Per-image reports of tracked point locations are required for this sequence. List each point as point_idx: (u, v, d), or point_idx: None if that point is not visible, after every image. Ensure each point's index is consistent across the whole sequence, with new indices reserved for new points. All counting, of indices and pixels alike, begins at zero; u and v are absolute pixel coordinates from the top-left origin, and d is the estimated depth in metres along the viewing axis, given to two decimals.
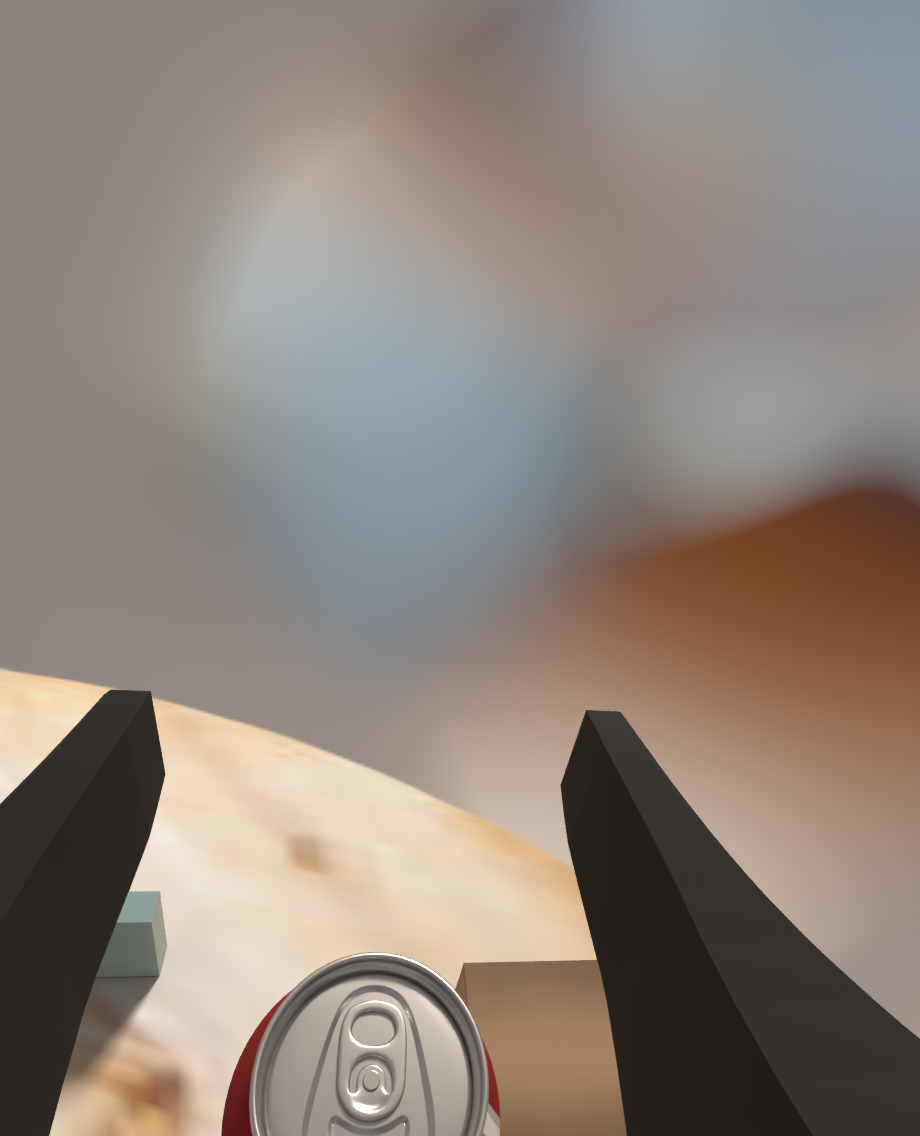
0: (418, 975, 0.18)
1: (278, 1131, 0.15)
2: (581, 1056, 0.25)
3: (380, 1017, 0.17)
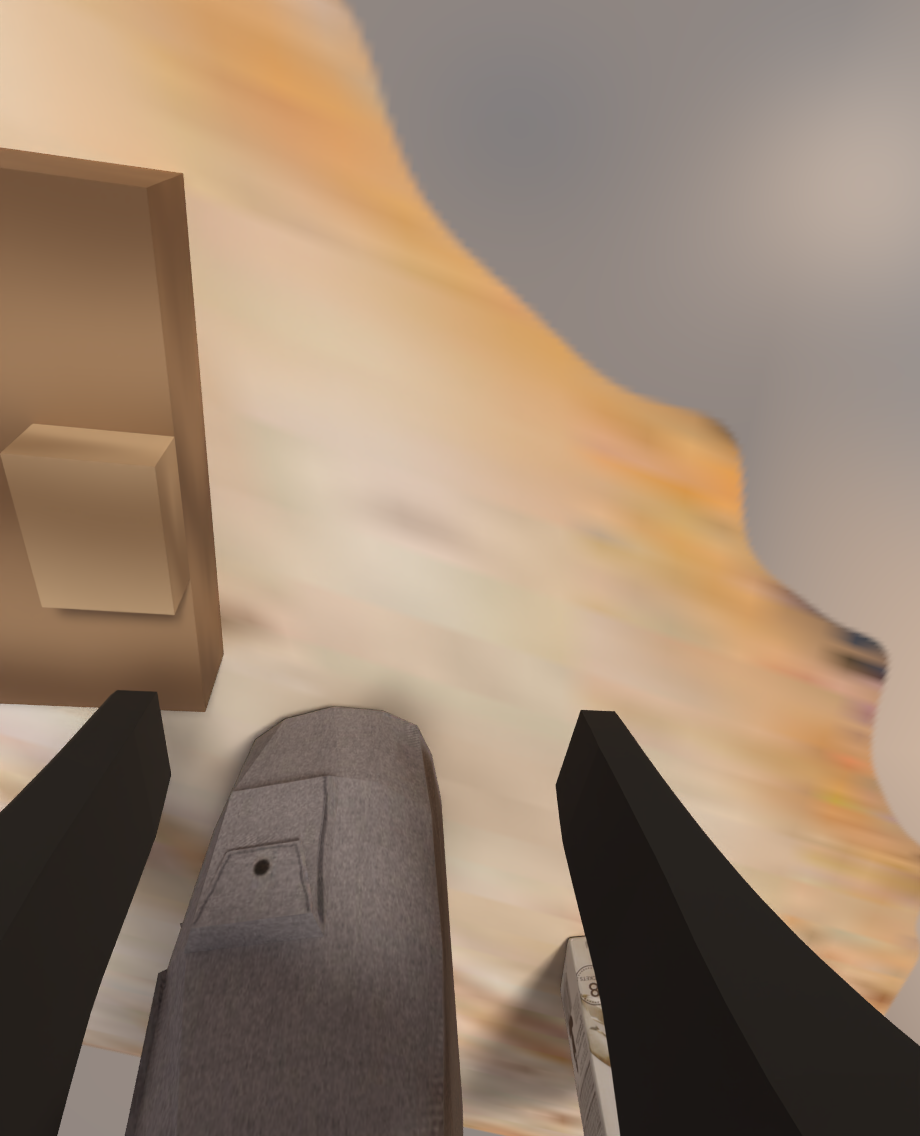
0: None
1: None
2: None
3: None
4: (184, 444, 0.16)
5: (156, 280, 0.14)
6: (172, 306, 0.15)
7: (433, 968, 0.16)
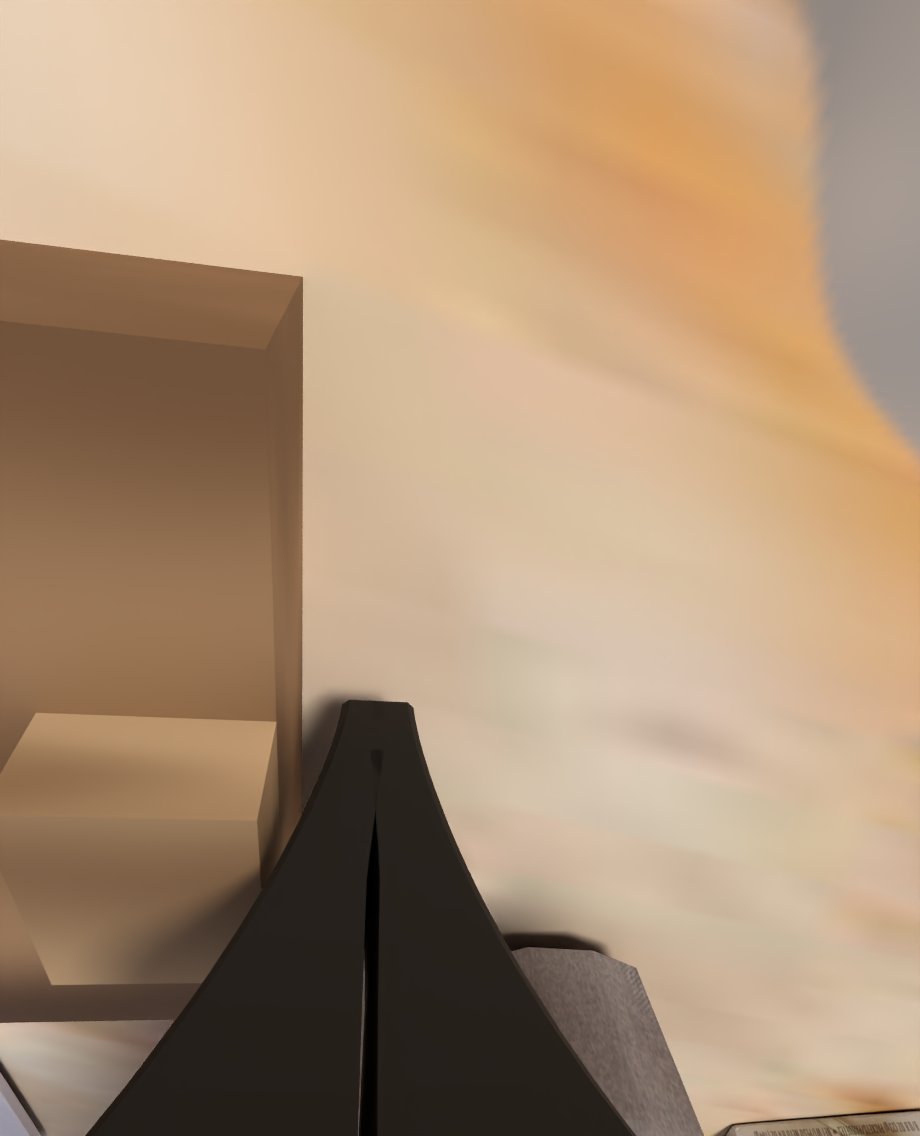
0: None
1: None
2: None
3: None
4: (284, 709, 0.10)
5: (268, 503, 0.07)
6: (282, 519, 0.08)
7: None
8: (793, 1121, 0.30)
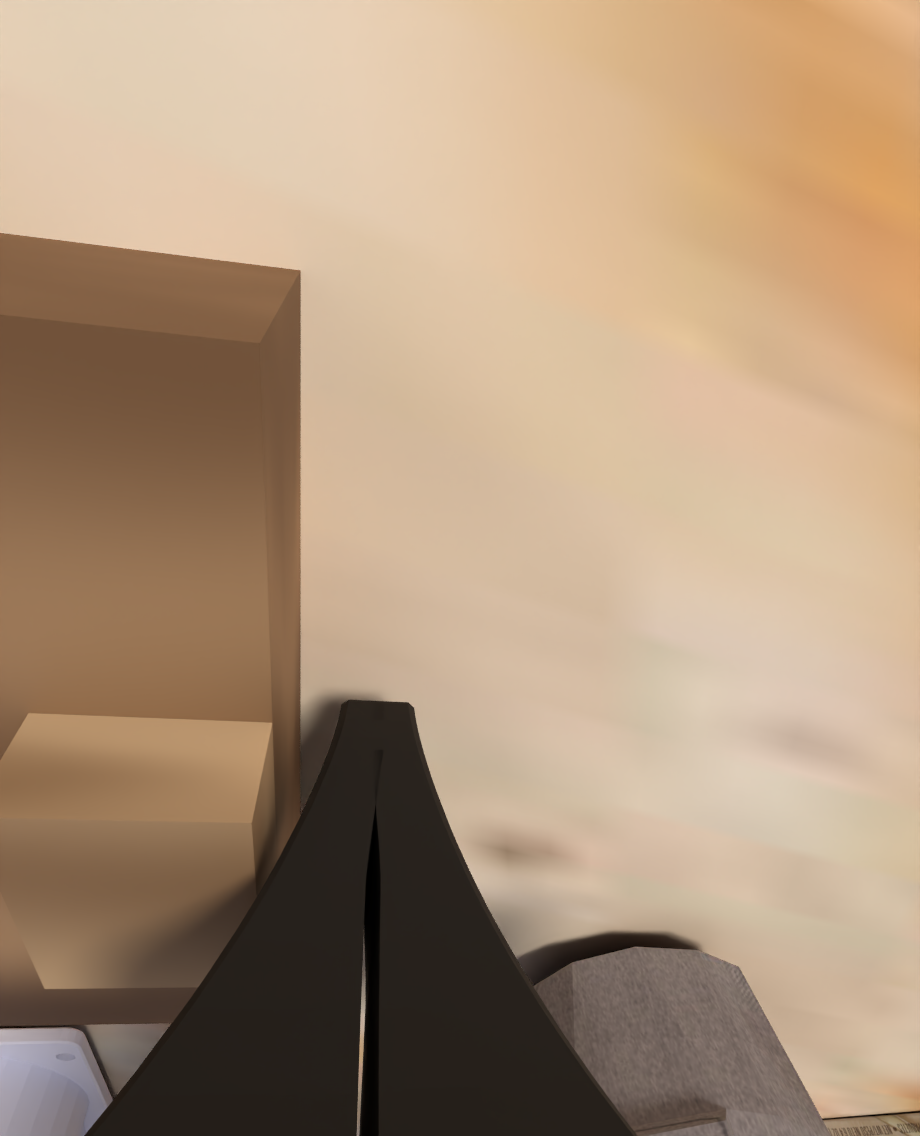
0: None
1: None
2: None
3: None
4: (281, 710, 0.10)
5: (263, 499, 0.07)
6: (278, 517, 0.08)
7: None
8: (853, 1119, 0.30)
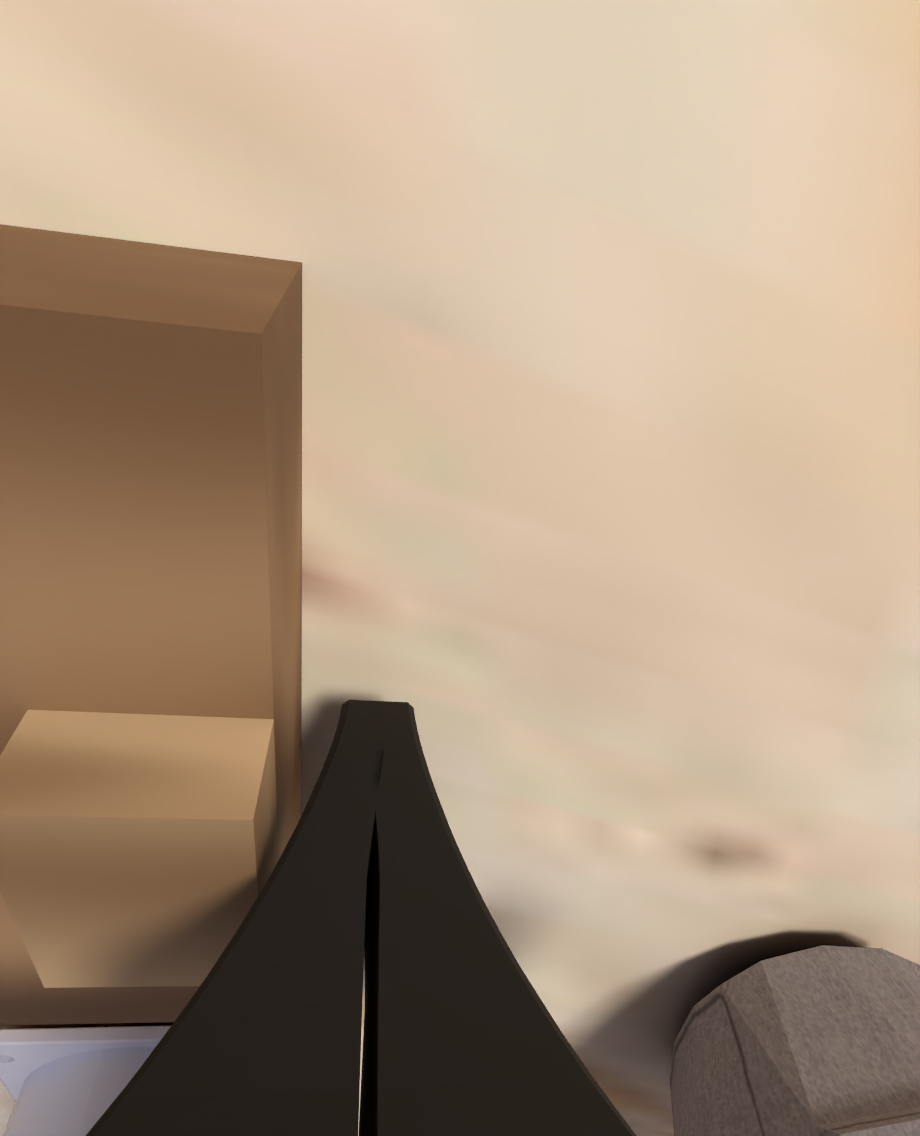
0: None
1: None
2: None
3: None
4: (281, 707, 0.10)
5: (264, 493, 0.07)
6: (279, 511, 0.08)
7: None
8: None
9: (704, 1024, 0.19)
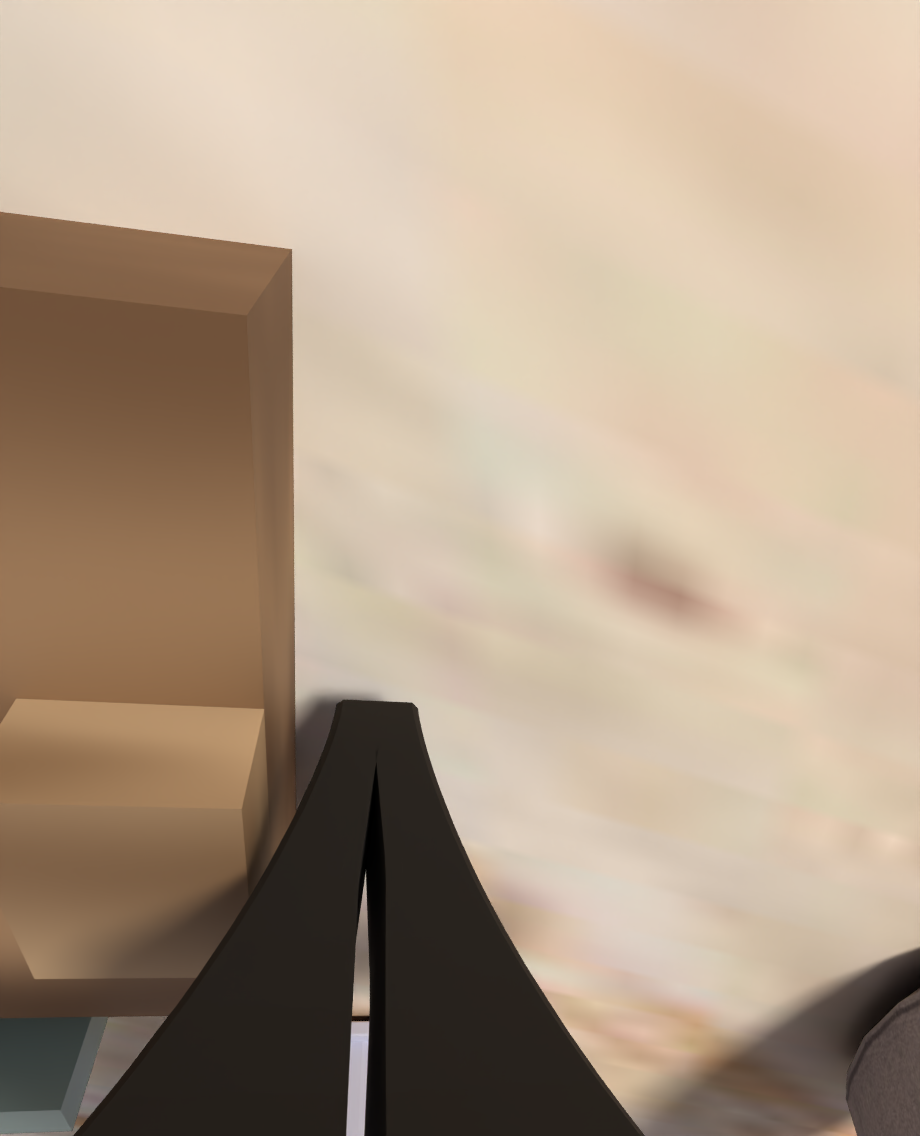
0: None
1: None
2: None
3: None
4: (273, 697, 0.10)
5: (253, 479, 0.07)
6: (269, 499, 0.08)
7: None
8: None
9: (916, 1020, 0.20)
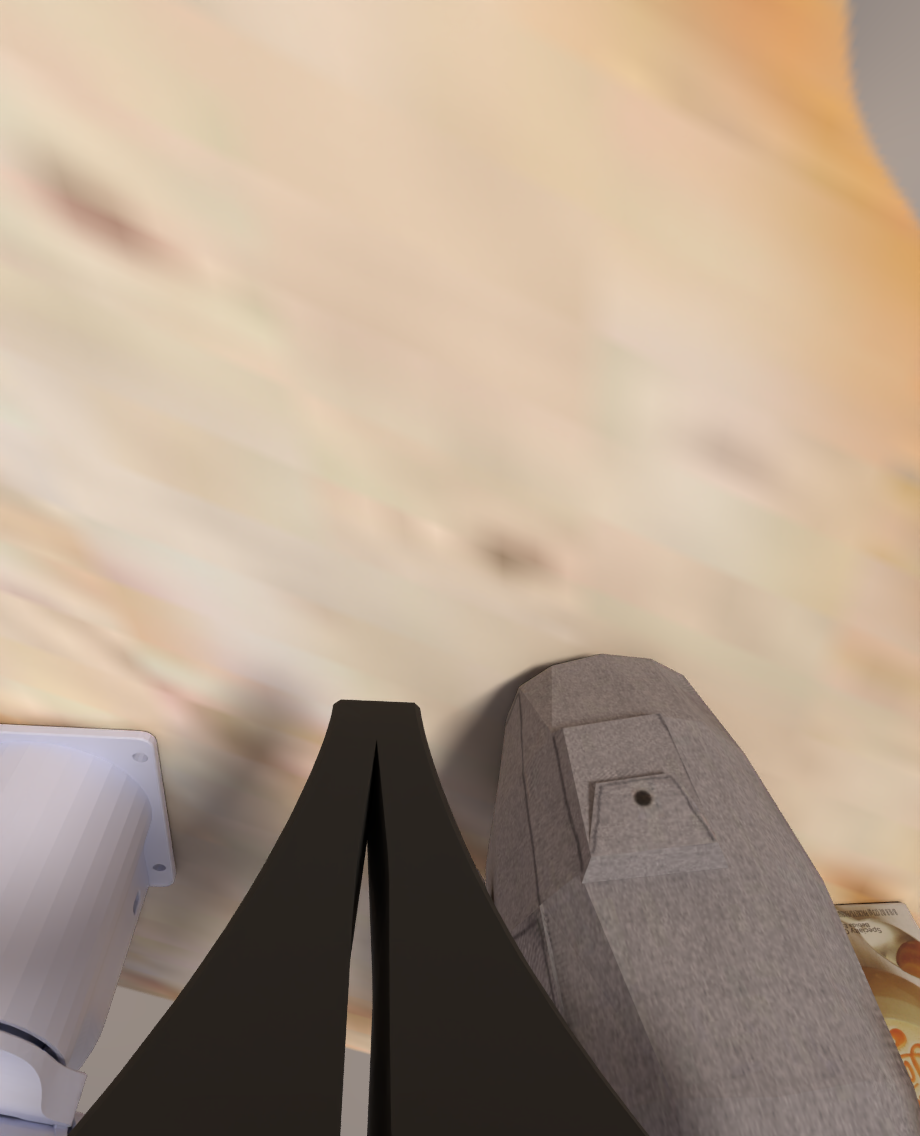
0: None
1: None
2: None
3: None
4: None
5: None
6: None
7: (828, 903, 0.16)
8: None
9: (508, 725, 0.23)
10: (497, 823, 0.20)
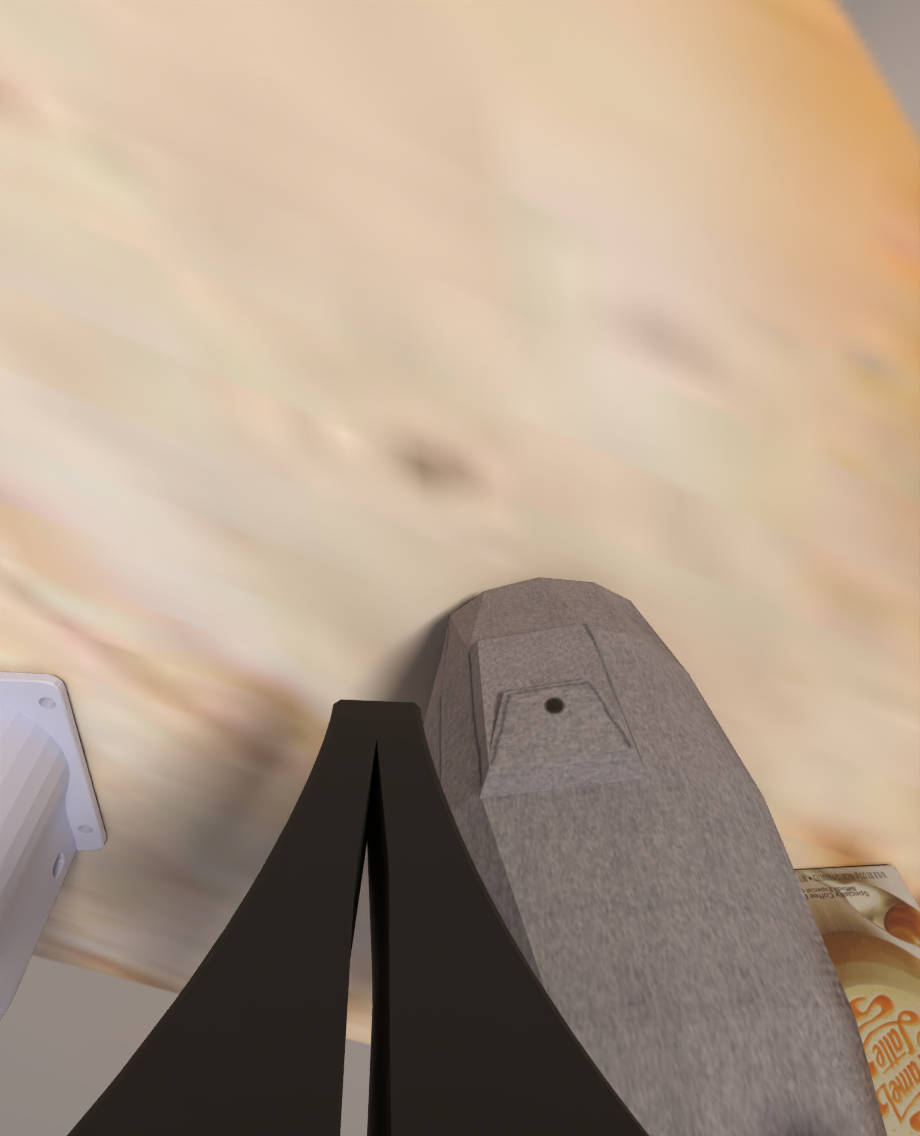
0: None
1: None
2: None
3: None
4: None
5: None
6: None
7: (767, 821, 0.13)
8: None
9: (441, 659, 0.21)
10: None
